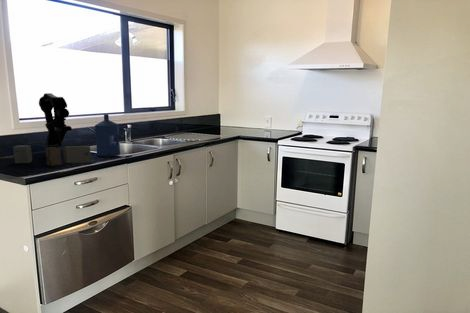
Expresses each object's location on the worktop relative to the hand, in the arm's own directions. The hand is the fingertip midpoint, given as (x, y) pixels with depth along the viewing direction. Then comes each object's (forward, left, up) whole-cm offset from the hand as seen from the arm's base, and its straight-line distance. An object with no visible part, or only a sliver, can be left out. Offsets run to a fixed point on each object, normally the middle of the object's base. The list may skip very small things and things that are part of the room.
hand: (61, 141), depth 234 cm
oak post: (+16, +2, -12) cm, 20 cm away
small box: (+10, -20, -12) cm, 26 cm away
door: (+12, +14, -12) cm, 22 cm away
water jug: (-17, +24, -12) cm, 32 cm away
